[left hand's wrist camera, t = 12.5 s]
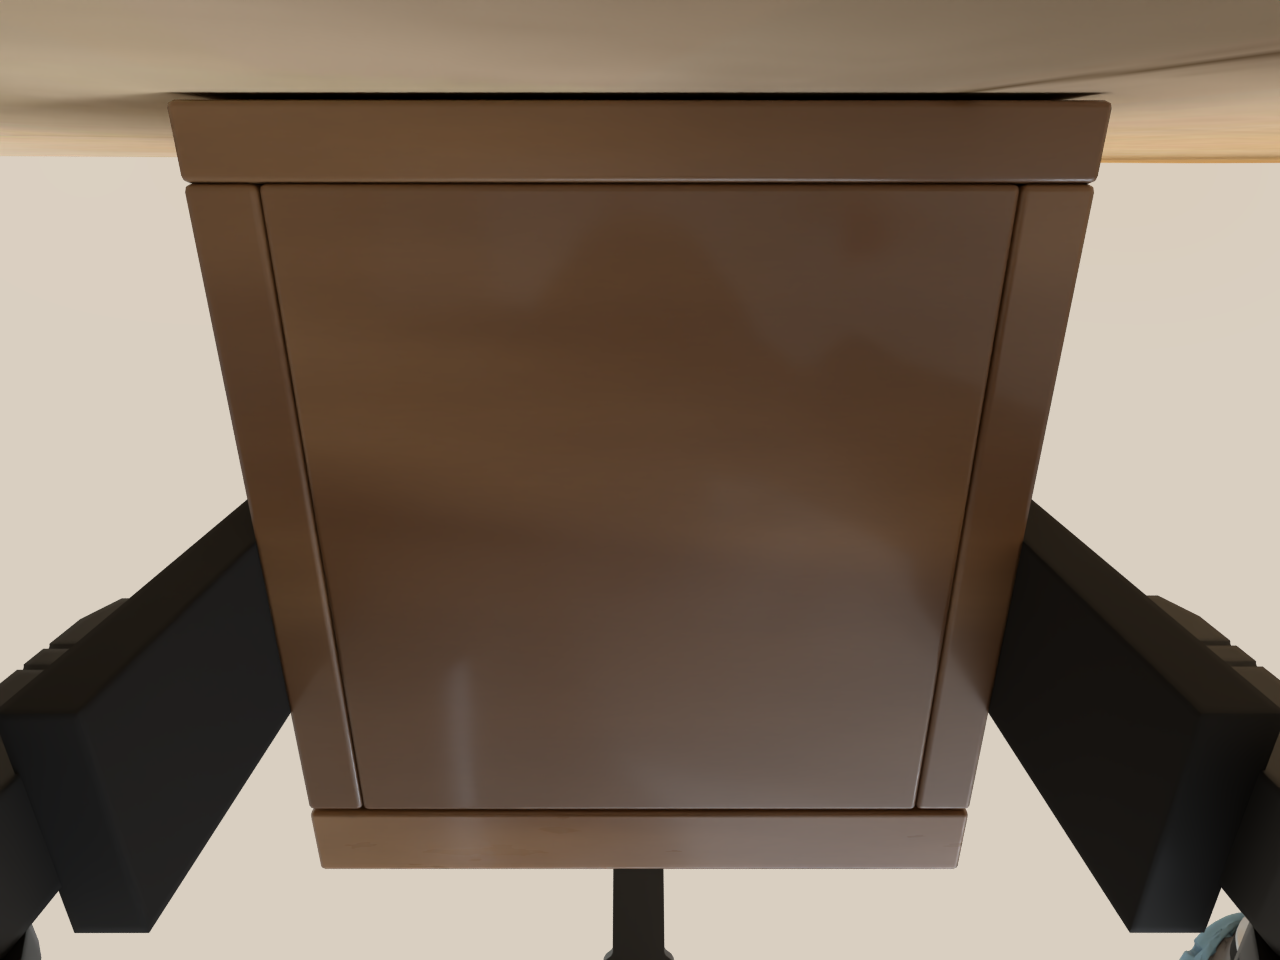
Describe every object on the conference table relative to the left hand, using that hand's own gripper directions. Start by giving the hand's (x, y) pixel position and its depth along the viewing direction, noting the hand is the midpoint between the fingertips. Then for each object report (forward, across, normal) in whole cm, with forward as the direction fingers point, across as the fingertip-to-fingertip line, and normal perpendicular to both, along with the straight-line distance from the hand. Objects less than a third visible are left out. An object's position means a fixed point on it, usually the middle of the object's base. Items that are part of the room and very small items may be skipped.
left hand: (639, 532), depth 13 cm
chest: (+5, 0, -6) cm, 8 cm away
